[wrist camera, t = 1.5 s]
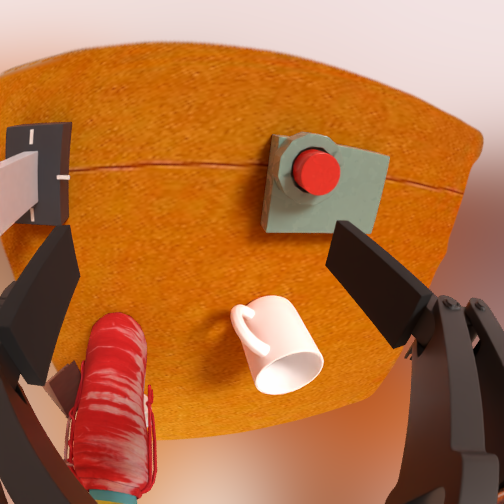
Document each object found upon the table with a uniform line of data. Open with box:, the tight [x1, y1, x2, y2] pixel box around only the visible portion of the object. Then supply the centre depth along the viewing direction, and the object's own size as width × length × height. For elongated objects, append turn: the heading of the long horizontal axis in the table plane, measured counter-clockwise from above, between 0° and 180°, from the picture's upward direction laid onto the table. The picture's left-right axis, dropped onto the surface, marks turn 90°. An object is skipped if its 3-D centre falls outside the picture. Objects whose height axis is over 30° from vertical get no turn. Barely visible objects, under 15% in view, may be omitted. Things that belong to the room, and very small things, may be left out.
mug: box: [230, 296, 324, 395], centre depth 33 cm, size 12×8×10 cm
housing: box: [261, 132, 390, 234], centre depth 29 cm, size 14×11×4 cm
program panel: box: [6, 122, 72, 226], centre depth 20 cm, size 10×9×3 cm
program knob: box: [0, 151, 38, 236], centre depth 16 cm, size 5×2×8 cm, turn 167°
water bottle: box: [42, 312, 157, 504], centre depth 22 cm, size 12×8×25 cm, turn 72°
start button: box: [293, 149, 340, 196], centre depth 25 cm, size 4×4×2 cm
